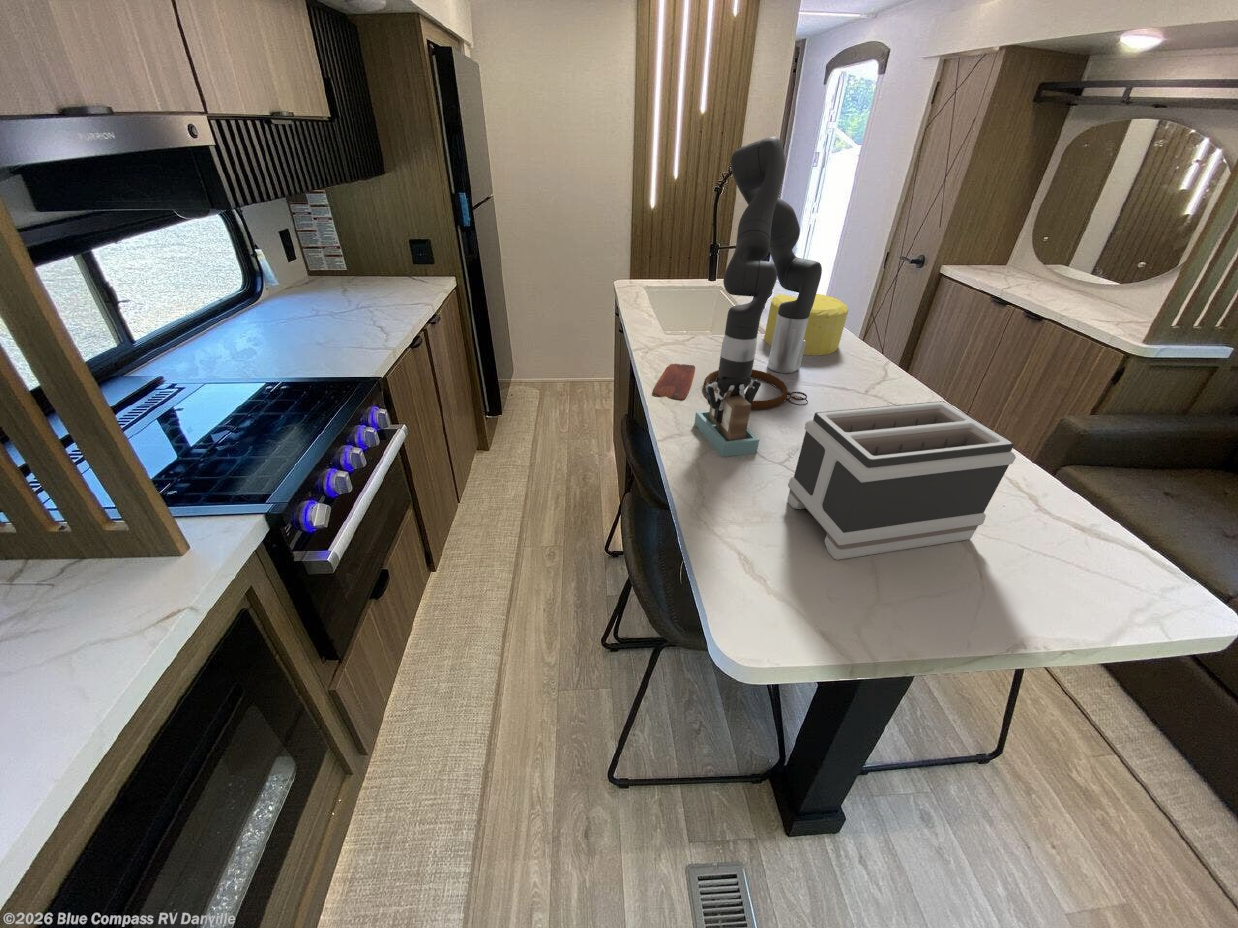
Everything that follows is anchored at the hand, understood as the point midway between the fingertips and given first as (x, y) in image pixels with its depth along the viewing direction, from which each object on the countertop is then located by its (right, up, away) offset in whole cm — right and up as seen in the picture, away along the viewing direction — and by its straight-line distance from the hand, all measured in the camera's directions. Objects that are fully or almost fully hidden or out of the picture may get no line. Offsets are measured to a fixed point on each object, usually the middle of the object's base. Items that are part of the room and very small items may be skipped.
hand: (727, 420), depth 125 cm
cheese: (+40, +34, +62) cm, 81 cm away
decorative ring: (+13, +10, +25) cm, 30 cm away
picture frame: (0, -2, +1) cm, 2 cm away
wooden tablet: (-9, +14, +31) cm, 35 cm away
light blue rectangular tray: (0, -4, +2) cm, 5 cm away
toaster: (+26, -22, -23) cm, 41 cm away
